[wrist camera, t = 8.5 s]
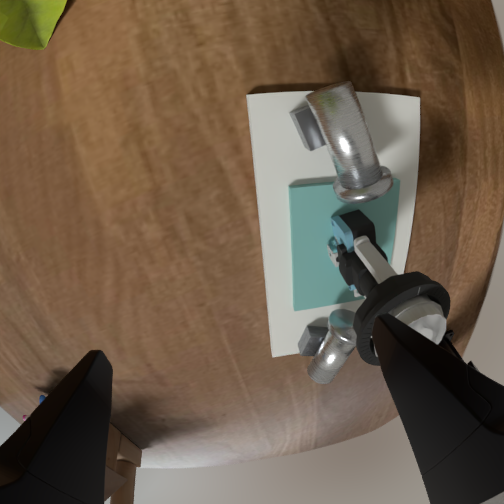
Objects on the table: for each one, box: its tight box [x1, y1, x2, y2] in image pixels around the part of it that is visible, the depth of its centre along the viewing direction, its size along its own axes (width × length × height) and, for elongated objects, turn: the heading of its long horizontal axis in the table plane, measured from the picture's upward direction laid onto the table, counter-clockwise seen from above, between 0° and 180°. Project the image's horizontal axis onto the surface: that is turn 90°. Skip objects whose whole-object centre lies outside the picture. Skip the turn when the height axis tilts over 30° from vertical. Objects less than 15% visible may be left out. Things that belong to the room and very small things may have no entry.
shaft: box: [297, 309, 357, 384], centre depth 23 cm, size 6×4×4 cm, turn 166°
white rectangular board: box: [246, 91, 420, 357], centre depth 21 cm, size 12×22×1 cm, turn 6°
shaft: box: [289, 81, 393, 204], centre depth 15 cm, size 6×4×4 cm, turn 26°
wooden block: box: [104, 423, 142, 504], centre depth 28 cm, size 4×11×18 cm, turn 10°
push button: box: [327, 209, 450, 366], centre depth 16 cm, size 7×5×10 cm
